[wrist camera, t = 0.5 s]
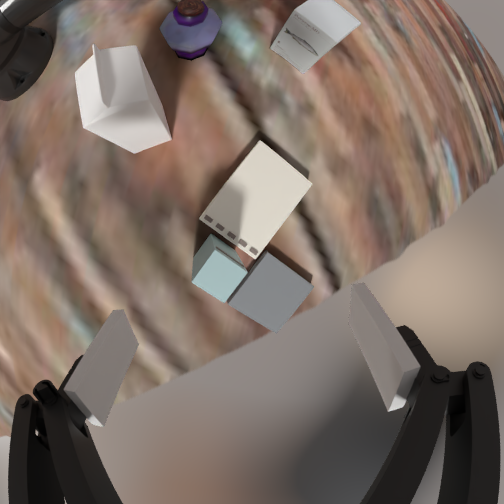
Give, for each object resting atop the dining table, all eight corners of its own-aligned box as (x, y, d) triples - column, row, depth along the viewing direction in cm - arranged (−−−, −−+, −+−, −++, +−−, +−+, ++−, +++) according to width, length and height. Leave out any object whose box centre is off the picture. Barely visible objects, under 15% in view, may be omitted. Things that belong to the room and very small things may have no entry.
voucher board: (252, 256, 42) (255, 259, 40) (199, 217, 39) (199, 219, 37) (307, 183, 41) (312, 183, 38) (257, 142, 38) (260, 140, 36)
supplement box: (267, 48, 34) (292, 7, 22) (293, 28, 34) (322, -11, 22) (302, 76, 36) (337, 43, 24) (326, 53, 36) (363, 22, 24)
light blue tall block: (217, 273, 41) (224, 303, 31) (193, 257, 40) (191, 282, 29) (235, 249, 41) (248, 271, 30) (211, 232, 40) (215, 249, 29)
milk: (162, 104, 34) (131, 25, 13) (172, 140, 35) (144, 85, 14) (124, 119, 33) (59, 58, 12) (133, 155, 35) (66, 120, 14)
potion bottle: (229, 44, 33) (241, 2, 22) (192, 77, 34) (190, 39, 22) (191, 20, 30) (191, -24, 19) (152, 51, 31) (140, 11, 20)
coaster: (274, 329, 45) (276, 333, 44) (226, 300, 42) (227, 304, 41) (310, 283, 45) (314, 286, 43) (265, 249, 42) (267, 252, 40)
